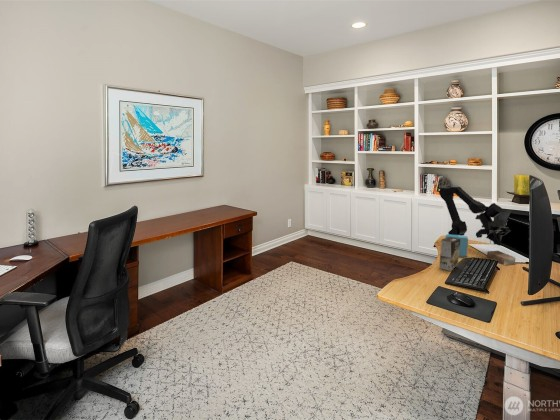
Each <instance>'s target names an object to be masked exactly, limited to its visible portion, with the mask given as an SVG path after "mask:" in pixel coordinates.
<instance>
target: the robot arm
mask: <svg viewBox="0 0 560 420" xmlns="http://www.w3.org/2000/svg"><path fill="white" fill-rule="evenodd" d="M438 193H439V196H440V198H441V199H442V200H443V201H444V203H445V205H446V208H447V211H448V213H449V216H450V219H451V229H450V230H449V231H447V233H448V234H451V235H462V236H465V233H467V231H468V226H467V223H466V221H463V220H461V218H460V215H459V212H458V209H457V207H456V204H455V201H454V197H455V195H456V196H457V197H458V198H460V200H462V201H463V202H464V203H465V204H466V205H467V207H468V209H469V210H470V211H471V213H473V214H476V216H475V220H479V221H480V223H481V229H478V231H476V232H475V236H476V238H477V239H478V238H479V239H480V238H482V237H483V235H486V237H485V238H486V239H488V240H489V241H491V242H493V244H495V245H497V246H501V245H502V241H501V237H503V236H505V235H507V234H508V233H510V232H511V229H510V227H508V226H506V227H505V225H506V224H507V222H506V220H505V219H502V218H501V219H499V220H496V221H495V220H493V219H494V218H496V217H497V216H499V215H501V214H502V212H503V208H502V207H501V206H500V205H498V204H496V203H495V202H494V203H493V202H492V203H490V205H489V206H486V205H485V203H483V202H481V201H479V200H476V199H474V198H473V197H472V196H470V194H468V193H467V192H466V191H465V190H464V189H463V188H462V187H461V186H454V187H452V186H451V187H450V186H447V187H440V188H439V190H438ZM500 227H501V228H500Z"/></svg>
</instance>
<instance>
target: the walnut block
mask: <svg viewBox="0 0 560 420" xmlns="http://www.w3.org/2000/svg"><path fill="white" fill-rule="evenodd" d="M486 258H487V259H489V260H491V259H493V260H497V261H498V262H497V263H498V264H501V265H503V266H508V265H509V266H510V265H515V264H516V257H515V256H513V255H510V254H507V253H505V252H502V251H500V250H489V251H487V253H486ZM493 260H492V261H493Z"/></svg>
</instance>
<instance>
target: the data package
mask: <svg viewBox="0 0 560 420" xmlns="http://www.w3.org/2000/svg"><path fill="white" fill-rule="evenodd" d="M447 237H453V238H458V239H460V249H459V258H466V257H467V255H468V246H469V245H468V244H469V238H468V236H466V235H451V234H446V235H445V236H444V239H445V238H447Z"/></svg>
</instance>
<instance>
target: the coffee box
mask: <svg viewBox="0 0 560 420" xmlns="http://www.w3.org/2000/svg"><path fill="white" fill-rule="evenodd" d="M440 243H441V245H440V254H439V255H440V256H439V266H438V269H441V270H444V271H449V272H451V271H453V270H455V269H456V268H455V267H456V266H457V265H459V258H460V257H459V249H460V239H458V238H453V237H447V238H445V237H444V238H443V239H441V242H440ZM454 268H455V269H454Z"/></svg>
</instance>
